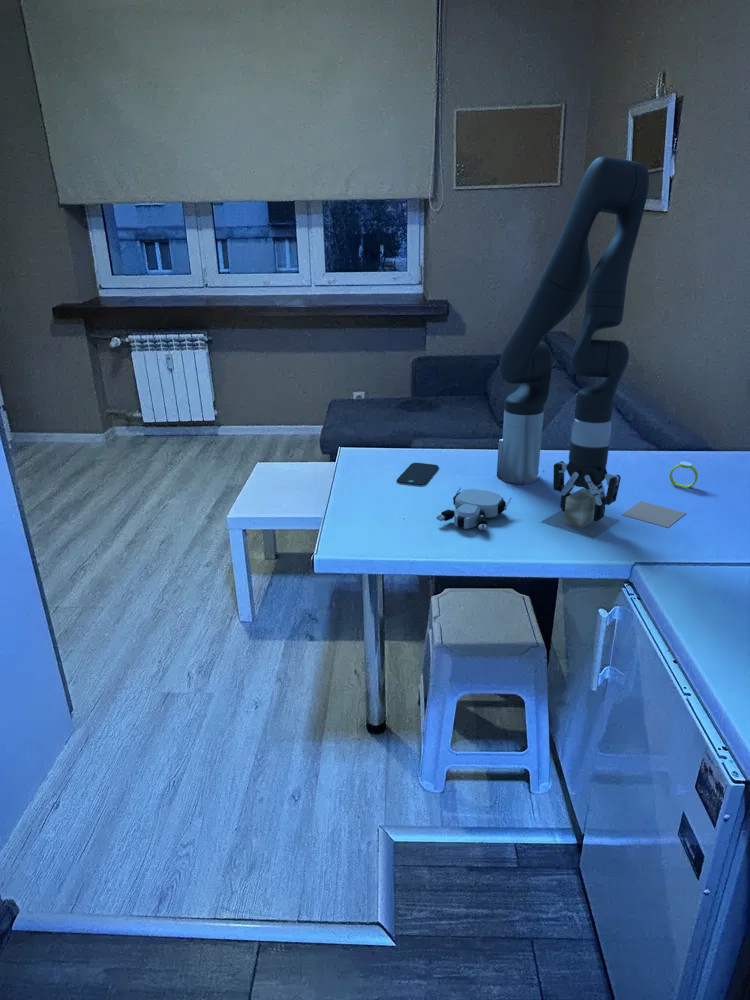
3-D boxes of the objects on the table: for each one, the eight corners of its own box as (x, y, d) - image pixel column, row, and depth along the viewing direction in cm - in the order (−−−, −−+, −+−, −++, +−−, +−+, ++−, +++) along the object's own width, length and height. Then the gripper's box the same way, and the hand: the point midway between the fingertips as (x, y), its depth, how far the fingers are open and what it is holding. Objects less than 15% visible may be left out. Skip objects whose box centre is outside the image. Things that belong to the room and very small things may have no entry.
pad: (621, 515, 148) (621, 514, 147) (641, 502, 154) (641, 501, 154) (667, 528, 141) (667, 527, 141) (686, 514, 148) (686, 513, 148)
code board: (540, 522, 144) (540, 521, 144) (568, 506, 153) (568, 505, 152) (593, 539, 137) (593, 538, 137) (619, 521, 145) (619, 520, 145)
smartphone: (394, 481, 167) (412, 461, 180) (394, 484, 167) (412, 464, 180) (424, 484, 164) (440, 464, 177) (424, 488, 164) (440, 468, 177)
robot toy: (487, 542, 138) (512, 511, 150) (487, 523, 136) (513, 493, 148) (432, 530, 144) (460, 501, 156) (432, 511, 142) (461, 483, 154)
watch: (695, 488, 163) (701, 464, 160) (693, 491, 161) (699, 468, 158) (668, 481, 166) (674, 459, 163) (666, 485, 163) (672, 462, 161)
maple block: (563, 523, 144) (566, 497, 141) (579, 513, 148) (582, 488, 146) (580, 529, 141) (584, 502, 139) (596, 518, 146) (600, 492, 143)
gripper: (548, 437, 140) (542, 511, 146) (615, 452, 131) (605, 530, 137) (566, 429, 145) (559, 501, 151) (632, 443, 136) (621, 519, 142)
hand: (581, 515), depth 144 cm, fingers open, 6 cm apart
